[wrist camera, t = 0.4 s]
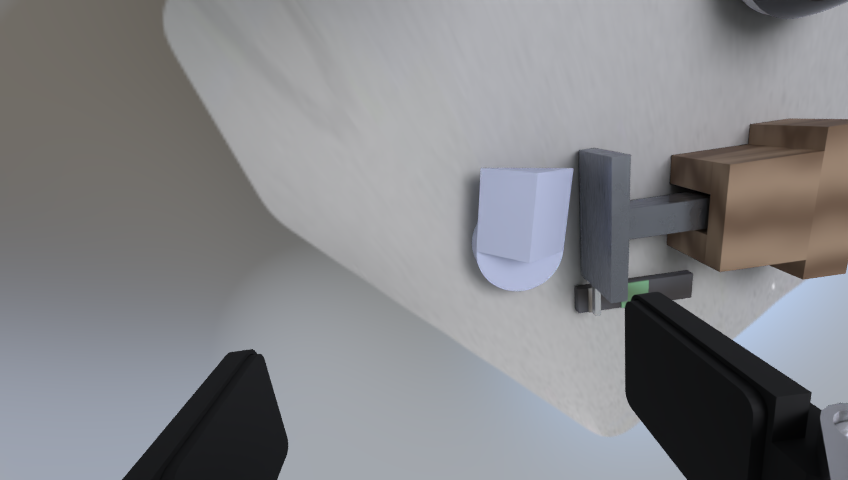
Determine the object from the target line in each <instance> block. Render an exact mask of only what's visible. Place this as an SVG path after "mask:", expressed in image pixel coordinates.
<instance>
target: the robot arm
mask: <svg viewBox="0 0 848 480" xmlns="http://www.w3.org/2000/svg"><path fill="white" fill-rule="evenodd" d="M625 392H626V397H627V400H628V403H629V405H630V407H631V408H632V410H633V411H634V412H635V413H636V415H637V416H638V417H639V418H640V420H641V421H642V422H643V424H644V425H645V426H646V427H647V429H648V430H649V431H650V433H651V434H652V435H653V436H654V438H655V439H656V440H657V442H658V443H659V444H660V445H661V447H662V448H663V449H664V451H665V452H666V453H667V454H668V456H669V457H670V458H671V460H672V461H673V462H674V463H675V464H676V466H677V467H678V468H679V470H680V471H681V472H682V473H683V475H684V476H685V477H686V479H687V480H848V403H838V404H833V405H828V406H827V407H826V408H824V409H823V410H820V409H819V408H817V407H816V406H815V405H813V404H811V403H810V400H811V392H810V391H808V390H807V389H805V388H804V387H802V386H801V385H799V384H798V383H796V382H795V381H793V380H792V379H790V378H789V377H787V376H786V375H784V374H783V373H781V372H780V371H778V370H777V369H775V368H774V367H772V366H770V365H769V364H768V363H766V362H765V361H763V360H762V359H760V358H759V357H757V356H755V355H754V354H753V353H751V352H750V351H748V350H746V349H745V348H743V347H742V346H741V345H739V344H737V343H736V342H734V341H733V340H731V339H730V338H728V337H727V336H725V335H724V334H722V333H721V332H719V331H718V330H716V329H715V328H713V327H712V326H710V325H709V324H707V323H706V322H704V321H703V320H701V319H700V318H698V317H697V316H695V315H694V314H692V313H691V312H689V311H688V310H686V309H685V308H683V307H682V306H680V305H679V304H677V303H676V302H674V301H672V300H671V299H669V298H668V297H666V296H665V295H663V294H662V293H660V292H651V293H643V294H636V295H633V296H632V298H631V301H628V302H627V303H626V305H625ZM287 451H288V439H287V435H286V432H285V428H284V425H283V422H282V418H281V414H280V411H279V408H278V405H277V401H276V397H275V394H274V391H273V387H272V384H271V380H270V377H269V373H268V370H267V366H266V363H265V360H264V357H263V356H262V355H261V354H257V353H256V352H255V350H253V349H251V350H243V351H237V352H230V353H228V354H227V355H226V356H225V357H224V359H223V360H222V361H221V362H220V363H219V365H218V366H217V367H216V368H215V369H214V370H213V372H212V373H211V374H210V375H209V376H208V378H207V379H206V380H205V381H204V383H203V384H202V385H201V386H200V387H199V388H198V390H197V391H196V392H195V394H193V396H192V397H191V398H190V399H189V400H188V402H187V403H186V404H185V405H184V407H183V408H182V409H181V410H180V411H179V413H178V414H177V415H176V416H175V417H174V418H173V419H172V421H171V422H170V423H169V424H168V426H167V427H166V428H165V429H164V430H163V432H162V433H161V434H160V435H159V436H158V438H157V439H156V440H155V441H154V442H153V444H152V445H151V446H150V447H149V448H148V449H147V451H146V452H145V453H144V454H143V456H142V457H141V458H140V459H139V460H138V462H137V463H136V464H135V465H134V466H133V467H132V469H131V470H130V471H129V472H128V473H127V475H126V476H125V477H124V478H123V479H122V480H277V478H278V476H279V473H280V471H281V468H282V465H283V463H284V461H285V458H286V455H287Z"/></svg>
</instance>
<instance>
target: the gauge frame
mask: <svg viewBox="0 0 848 480" xmlns="http://www.w3.org/2000/svg"><path fill="white" fill-rule="evenodd" d="M670 184H674V185H678V186H681V187H685V188H689V189H692V190H696V191H700V192H704V193H707V194H711V195H710V206H709V218H708V228H706V229H699V230H692V231H685V232H678V233H671V234H667V245H668V246H670V247H672V248H674V249H676V250H678V251H680V252H682V253H684V254H686V255H688V256H690V257H692V258H694V259H696V260H698V261H699V262H701V263H703V264H705V265H707V266H709V267H711V268H713V269H715V270H717V271H719V272H723V271H730V270H737V269H744V268H751V267H759V266H766V265H770V266H772V267H775V268H777V269H779V270H782V271H784V272H786V273H789V274H791V275H793V276H796V277H798V278H801V279H810V278H817V277H824V276H831V275H838V274H845V273H846V268H847V264H848V119H783V120H777V121H770V122H763V123H756V124H750V132H749V141H748V144H745V145H739V146H732V147H725V148H718V149H711V150H704V151H697V152H691V153H684V154H677V155H672V156H671V175H670ZM692 280H693V273H691V272H689V271H688V270H685V271H678V272H671V273H664V274H656V275H649V276H642V277H635V278H628V301H631V298H632V296H633V295H636V294H643V293H651V292H660V293H662V294H663V295H665V296H666V297H668V298H669V299H671V300H676V299H683V298H690V297H691V294H692ZM628 301H625V302H618V303H610V302H609V301H608V300H607V299H606V298H605V297H604V296H603V295H602V294H601V310H604V309H612V308H619V307H621V308H625V305H626V303H627V302H628ZM575 309H576V310H577V312H578V313H583V312H589V313H590V312H592V285H591V284H585V285H578V286H575Z"/></svg>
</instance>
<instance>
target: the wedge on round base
mask: <svg viewBox="0 0 848 480" xmlns="http://www.w3.org/2000/svg"><path fill="white" fill-rule="evenodd" d="M572 176H573V168H481V173H480V193H479V213H478V223H477V225H476V227H475V229H474V232H473V236H472V249H473V254H474V257H475V259H476V261H477V264H478V266H479V268H480V270H481V272H482V274H483V275H484V276H485V278H486V279H487V280H488V281H489V282H491V283H492V284H493V285H495V286H497V287H499V288H501V289H505V290H509V291H524V290H528V289H532V288H534V287H537V286H539V285H541V284H542V283H544V282H545V281H546V280H548V279H549V278H550V277H551V276H552V275H553V273H554V272H555V271H556V269H557V268H558V266H559V264H560V262H561V259H562V256H563V250H564V242H565V233H566V225H567V217H568V209H569V201H570V192H571V184H572Z"/></svg>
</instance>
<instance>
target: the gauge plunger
mask: <svg viewBox="0 0 848 480" xmlns="http://www.w3.org/2000/svg"><path fill="white" fill-rule="evenodd" d="M630 164H631V155H630V154H625V153H619V152H614V151H609V150H603V149H598V148H590V149H584V150H579V177H580V228H581V275H582V276H583V277H584V278H585V279H586V280H587V281H588V282H589V283H590V284H591V285H592V313H593V314H594V315H595V316H599V315H601V294H602V295H603V296H604V297H605V298H606V299H607V300H608V301H609V302H610V303H618V302H625V301H628V262H629V239H636V238H643V237H650V236H657V235H664V234H671V233H678V232H685V231H692V230H699V229H706V228H708V218H709V206H710V197H707V196H703V195H700V194H696V193H693V192H685V193H678V194H671V195H664V196H657V197H650V198H643V199H636V200H630Z"/></svg>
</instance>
